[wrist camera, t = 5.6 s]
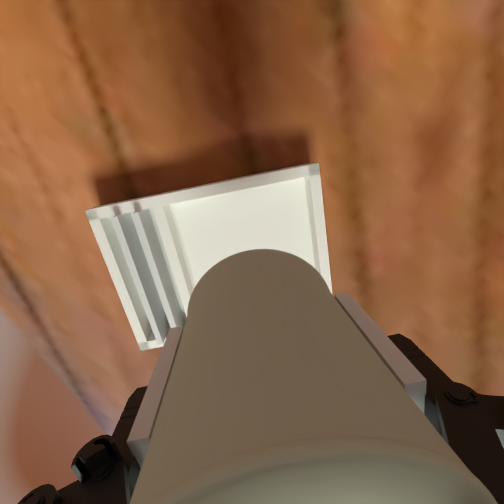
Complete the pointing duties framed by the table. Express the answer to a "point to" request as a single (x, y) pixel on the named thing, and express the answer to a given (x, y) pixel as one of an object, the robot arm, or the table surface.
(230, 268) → the can
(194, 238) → the rack
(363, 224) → the table surface
